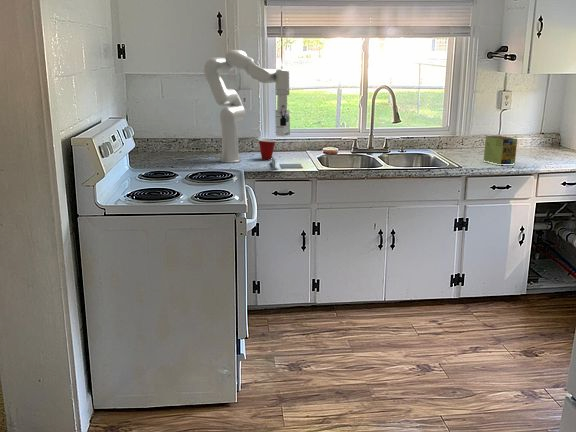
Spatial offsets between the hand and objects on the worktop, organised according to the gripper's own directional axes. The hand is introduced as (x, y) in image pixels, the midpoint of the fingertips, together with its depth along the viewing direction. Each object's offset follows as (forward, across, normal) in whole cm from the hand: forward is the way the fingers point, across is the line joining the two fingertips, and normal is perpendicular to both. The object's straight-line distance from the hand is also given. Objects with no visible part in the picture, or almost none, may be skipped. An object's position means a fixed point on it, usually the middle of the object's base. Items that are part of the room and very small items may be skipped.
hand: (282, 124), depth 331 cm
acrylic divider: (+23, 0, -6) cm, 24 cm away
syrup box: (+6, 0, 0) cm, 6 cm away
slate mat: (+24, 0, +4) cm, 24 cm away
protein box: (+26, -6, +127) cm, 130 cm away
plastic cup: (+23, -25, -8) cm, 35 cm away
